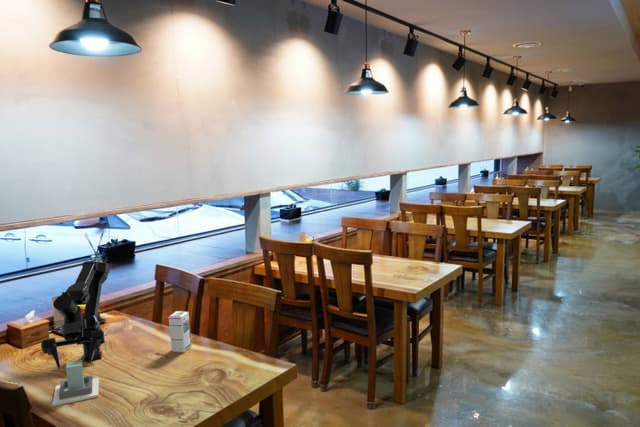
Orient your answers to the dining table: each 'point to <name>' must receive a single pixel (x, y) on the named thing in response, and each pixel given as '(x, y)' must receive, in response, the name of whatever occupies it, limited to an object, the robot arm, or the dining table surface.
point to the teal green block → (75, 375)
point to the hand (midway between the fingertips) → (74, 365)
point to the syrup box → (180, 331)
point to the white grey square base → (76, 391)
